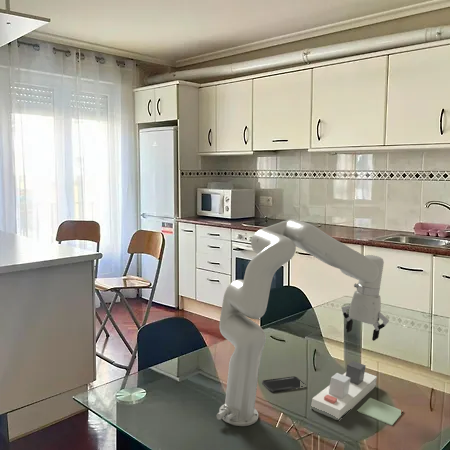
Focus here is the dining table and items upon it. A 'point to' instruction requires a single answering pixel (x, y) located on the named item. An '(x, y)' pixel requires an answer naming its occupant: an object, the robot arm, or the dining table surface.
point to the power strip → (339, 405)
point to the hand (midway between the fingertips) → (361, 335)
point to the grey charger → (339, 385)
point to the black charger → (355, 372)
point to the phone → (282, 384)
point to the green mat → (380, 411)
